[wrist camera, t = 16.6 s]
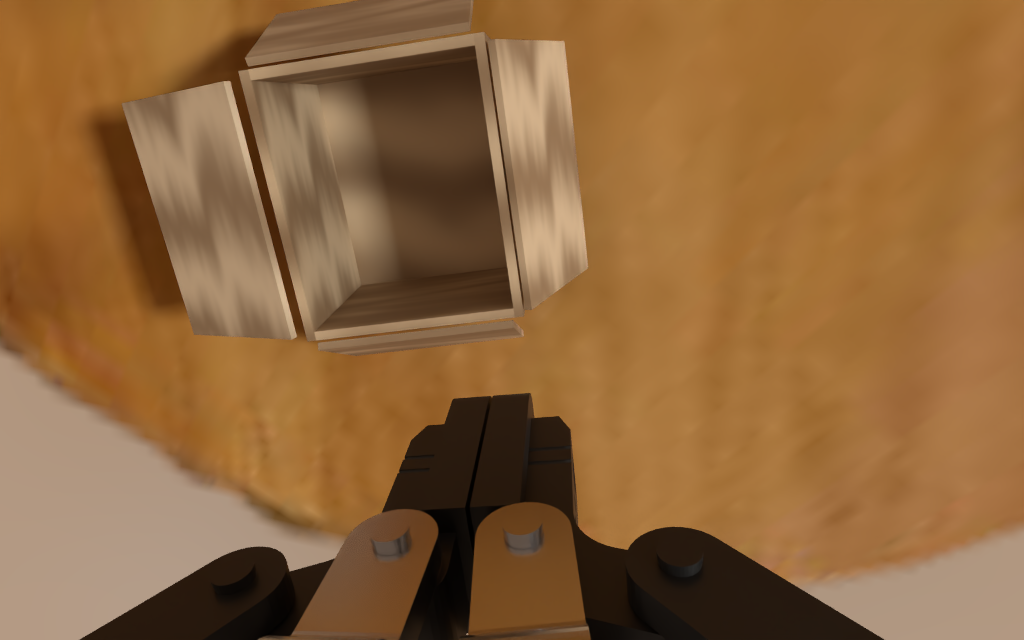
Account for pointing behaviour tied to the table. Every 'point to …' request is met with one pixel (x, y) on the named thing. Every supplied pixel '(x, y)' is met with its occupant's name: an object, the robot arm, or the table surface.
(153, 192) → the front flap
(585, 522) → the table surface
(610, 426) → the table surface
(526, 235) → the carton
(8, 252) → the table surface
